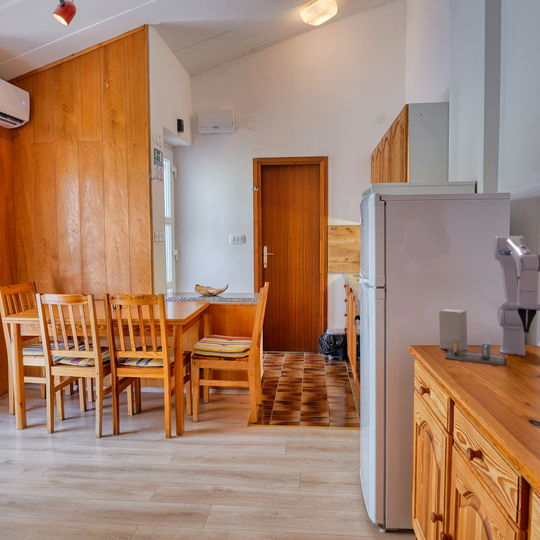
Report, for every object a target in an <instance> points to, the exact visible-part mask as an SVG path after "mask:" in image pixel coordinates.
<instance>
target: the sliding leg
mask: <svg viewBox="0 0 540 540" xmlns="http://www.w3.org/2000/svg"><path fill="white" fill-rule="evenodd" d="M481 352H482V355H484V357H486V356H490V353H491V342H489V341H488V342H487V341H483V342H482V344H481Z"/></svg>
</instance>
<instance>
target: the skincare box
mask: <svg viewBox="0 0 540 540" xmlns="http://www.w3.org/2000/svg"><path fill="white" fill-rule="evenodd" d="M438 313H439V316H438V317H439V349H440V348H443V349H442V350H444V349H447V350H446V351H449V350H450V349H453V341H454V340H457V341H462V346H461V350H465V351H468V350H467V349H468V331H467V330H468V329H467V327H468V326H467V325H468V324H467V321H468V320H467V319H468V318H467V310H464V309H451V308H445V309H442V310H439V311H438Z"/></svg>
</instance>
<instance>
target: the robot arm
mask: <svg viewBox="0 0 540 540" xmlns="http://www.w3.org/2000/svg"><path fill="white" fill-rule="evenodd" d="M492 247H493V255H494V259H495V260H496V261H498V262H499V265H500V269H501V277H502V286H503V295H504V302H502V303H500V304H499V306H498V308H497V324H498V325H499V326H500V328H502V331H501V347H500V349H499V350H500V351H499V354H500V353H501V354H505V355H507V354H509V355H515V354H517V355H516V356H526V348H525V337H526V333H530V327H531V325H532V322H533V321H534V318H535V316H536V314H537V312H540V303H539V304H538V293H539V291H538V290H539V273H540V254H539V253H537V254H534V253H533V252H532V251H531V250H530V248H529V247H528V246H527V245H526V238H525V237H524V235H495V236H494V238H493V246H492Z"/></svg>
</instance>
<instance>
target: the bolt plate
mask: <svg viewBox="0 0 540 540" xmlns="http://www.w3.org/2000/svg"><path fill="white" fill-rule="evenodd" d="M461 346H462V341H457V340H454V341H453V349H450V350H447V352H446V354H445V356H444V358H450V359H449V360H454V359H459V360H458V361H462V360H464V361H463V362H470V361H471V363H479V362H481V363H480V364H487V363H491V364H490V365H496V364H500V365H499V366H505V365H504V364H505V360H506V354H500V353H491V352H490V356H486V357H484V355H482V351H481V352H480V351H474V350H473V351H472V350H465V351H464V350H461Z"/></svg>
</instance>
